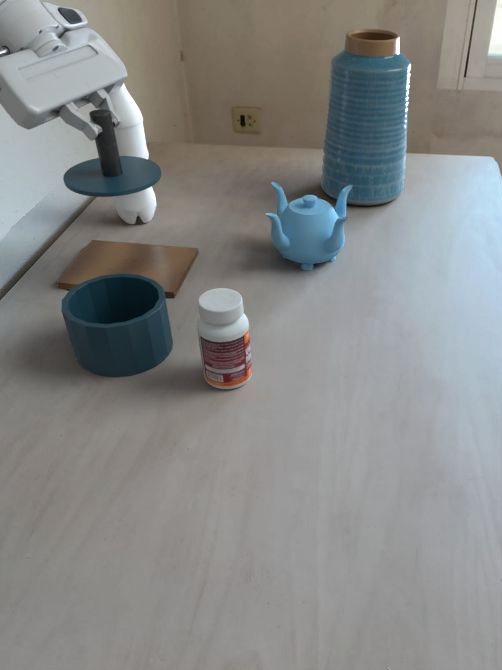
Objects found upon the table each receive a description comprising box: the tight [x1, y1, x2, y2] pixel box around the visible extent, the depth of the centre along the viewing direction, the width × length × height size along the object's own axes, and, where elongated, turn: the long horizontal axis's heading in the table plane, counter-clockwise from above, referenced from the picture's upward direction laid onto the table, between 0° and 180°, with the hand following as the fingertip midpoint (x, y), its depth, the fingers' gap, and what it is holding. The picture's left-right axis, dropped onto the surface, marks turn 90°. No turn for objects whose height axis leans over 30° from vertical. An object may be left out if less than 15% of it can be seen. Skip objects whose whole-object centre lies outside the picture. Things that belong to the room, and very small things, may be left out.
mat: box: [56, 239, 200, 299], centre depth 99 cm, size 18×14×1 cm
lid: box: [62, 109, 162, 198], centre depth 86 cm, size 13×13×9 cm
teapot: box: [264, 181, 352, 271], centre depth 100 cm, size 13×13×10 cm
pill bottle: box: [196, 287, 253, 390], centre depth 76 cm, size 6×6×11 cm
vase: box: [320, 28, 412, 207], centre depth 115 cm, size 16×16×27 cm
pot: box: [60, 274, 174, 378], centre depth 82 cm, size 13×13×8 cm
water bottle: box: [97, 83, 157, 225], centre depth 104 cm, size 7×7×25 cm
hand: (107, 131), depth 85 cm, fingers closed on lid, 3 cm apart
